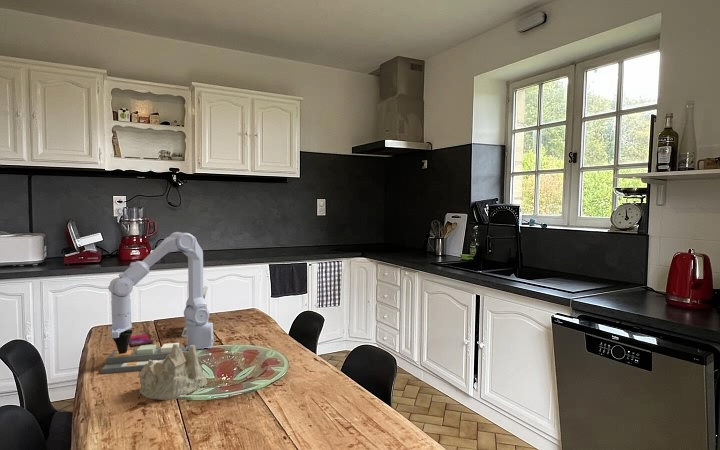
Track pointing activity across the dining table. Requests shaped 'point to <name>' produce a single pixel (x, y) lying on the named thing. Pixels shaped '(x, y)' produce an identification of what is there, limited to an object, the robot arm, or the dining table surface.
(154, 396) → the ceramic cottage
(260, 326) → the dining table surface
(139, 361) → the keypad
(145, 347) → the sage key
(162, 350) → the cream key
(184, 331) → the phone holder
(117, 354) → the orange key
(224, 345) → the dining table surface
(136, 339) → the smartphone
